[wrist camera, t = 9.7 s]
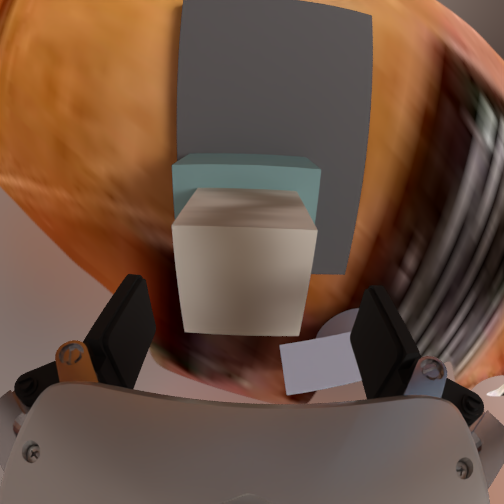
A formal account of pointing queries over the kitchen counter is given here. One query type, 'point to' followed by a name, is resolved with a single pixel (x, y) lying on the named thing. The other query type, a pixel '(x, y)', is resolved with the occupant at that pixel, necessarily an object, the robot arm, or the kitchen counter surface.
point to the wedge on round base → (322, 358)
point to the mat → (282, 97)
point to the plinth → (246, 176)
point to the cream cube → (243, 261)
